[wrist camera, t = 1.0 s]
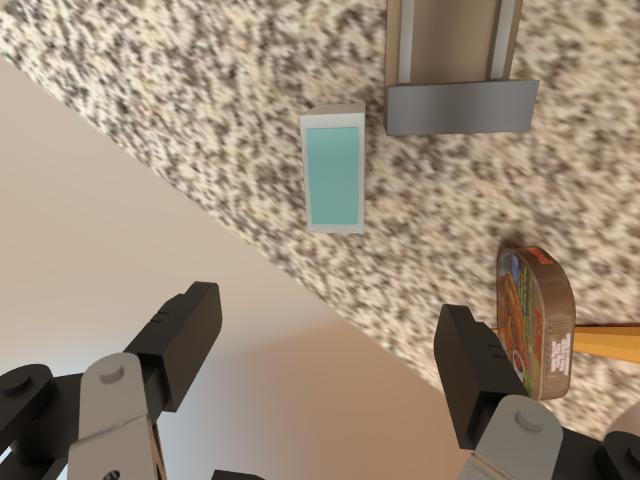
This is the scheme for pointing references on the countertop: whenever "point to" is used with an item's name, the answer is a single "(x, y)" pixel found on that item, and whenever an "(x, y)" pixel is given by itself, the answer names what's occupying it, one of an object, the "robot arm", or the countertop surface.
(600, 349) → the orange rounded piece
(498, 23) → the rack
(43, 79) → the countertop surface
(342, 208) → the block
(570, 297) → the tin
